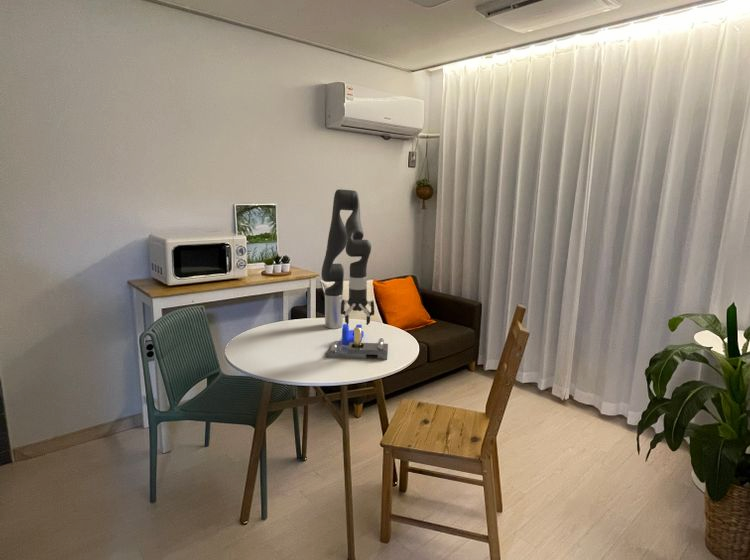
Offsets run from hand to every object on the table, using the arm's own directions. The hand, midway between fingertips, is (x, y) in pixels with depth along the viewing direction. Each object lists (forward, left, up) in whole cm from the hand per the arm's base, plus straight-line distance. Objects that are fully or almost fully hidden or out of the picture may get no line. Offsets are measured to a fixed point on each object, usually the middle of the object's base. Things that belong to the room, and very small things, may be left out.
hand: (357, 324), depth 189 cm
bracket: (-21, -4, -14) cm, 26 cm away
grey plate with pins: (0, 0, -14) cm, 14 cm away
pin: (0, 0, -14) cm, 14 cm away
